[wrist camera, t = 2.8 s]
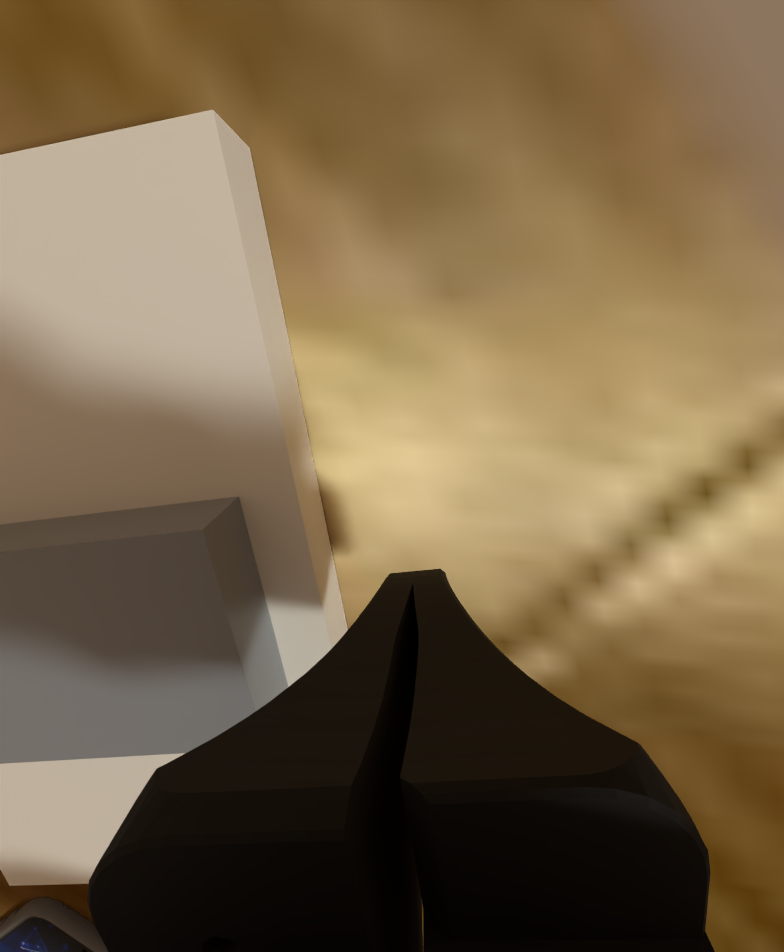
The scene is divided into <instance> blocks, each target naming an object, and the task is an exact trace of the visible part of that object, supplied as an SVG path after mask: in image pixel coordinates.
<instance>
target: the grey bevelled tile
mask: <svg viewBox="0 0 784 952" xmlns="http://www.w3.org/2000/svg"><path fill="white" fill-rule="evenodd" d="M286 688H288V683H287V679H286V676H285V672H284V668H283V664H282V660H281V656H280V653H279V649H278V645H277V641H276V637H275V633H274V629H273V626H272V622H271V618H270V614H269V610H268V606H267V603H266V599H265V595H264V591H263V587H262V583H261V580H260V576H259V572H258V568H257V564H256V560H255V556H254V553H253V549H252V545H251V541H250V537H249V533H248V530H247V526H246V522H245V518H244V514H243V510H242V506H241V503H240V499H239V496H238V497H229V498H221V499H212V500H204V501H195V502H187V503H178V504H170V505H162V506H153V507H145V508H136V509H128V510H119V511H111V512H102V513H94V514H85V515H77V516H69V517H60V518H52V519H43V520H35V521H26V522H18V523H9V524H1V525H0V764H5V763H22V762H40V761H57V760H75V759H92V758H110V757H127V756H144V755H162V754H179V753H187V752H189V751H191V750H193V749H194V748H196V747H198V746H200V745H202V744H204V743H205V742H207V741H209V740H211V739H213V738H214V737H216V736H218V735H219V734H221V733H223V732H224V731H226V730H228V729H229V728H231V727H232V726H234V725H236V724H237V723H239V722H240V721H242V720H243V719H245V718H247V717H248V716H250V715H251V714H252V713H254V712H255V711H257V710H258V709H260V708H261V707H263V706H264V705H266V704H267V703H268V702H270V701H271V700H272V699H274V698H275V697H276V696H278V695H279V694H280V693H281V692H283V691H284V690H285V689H286Z"/></svg>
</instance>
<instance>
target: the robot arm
mask: <svg viewBox="0 0 784 952" xmlns="http://www.w3.org/2000/svg"><path fill="white" fill-rule="evenodd" d="M709 881H710V865H709V856H708V850H707V848H706V846H705V844H704V842H703V841H702V839H701V836H700V834H699V832H698V830H697V828H696V826H695V824H694V822H693V820H692V818H691V817H690V815H689V813H688V812H687V810H686V808H685V807H684V805H683V804H682V802H681V800H680V799H679V797H678V796H677V794H676V793H675V792H674V790H673V789H672V787H671V786H670V784H669V783H668V782H667V780H666V779H665V777H664V776H663V774H662V773H661V772H660V770H659V769H658V768H657V766H656V765H655V764H654V762H653V761H652V760H651V758H650V757H649V755H648V754H647V753H646V752H645V750H644V749H643V748H642V746H641V745H640V744H639V743H637V742H635V741H633V740H631V739H630V738H628V737H626V736H624V735H622V734H620V733H618V732H616V731H614V730H612V729H611V728H609V727H607V726H605V725H603V724H601V723H599V722H597V721H595V720H593V719H592V718H590V717H588V716H586V715H584V714H583V713H581V712H579V711H578V710H576V709H575V708H573V707H571V706H570V705H568V704H567V703H565V702H563V701H562V700H560V699H559V698H557V697H556V696H554V695H553V694H552V693H550V692H549V691H547V690H546V689H545V688H543V687H542V686H541V685H539V684H538V683H537V682H535V681H534V680H533V679H531V678H530V677H529V676H527V675H526V674H525V673H524V672H523V671H522V670H521V669H519V668H518V667H517V666H516V665H515V664H514V663H512V662H511V661H510V660H509V659H508V658H507V657H506V656H505V655H504V654H503V653H502V652H501V651H500V650H499V649H498V648H497V647H496V646H495V645H494V644H493V643H492V642H491V641H490V640H489V639H488V638H487V636H486V635H485V634H484V633H483V632H482V631H481V629H480V628H479V627H478V626H477V625H476V623H475V622H474V621H473V620H472V618H471V617H470V616H469V614H468V613H467V612H466V610H465V609H464V607H463V606H462V605H461V603H460V602H459V600H458V599H457V597H456V595H455V594H454V592H453V590H452V588H451V586H450V585H449V582H448V580H447V577H446V574H445V572H444V571H442V570H441V569H433V570H422V571H412V572H401V573H391V574H389V576H388V577H387V578H386V579H385V581H384V582H383V584H382V585H381V587H380V588H379V590H378V591H377V593H376V594H375V595H374V597H373V598H372V600H371V601H370V603H369V604H368V605H367V607H366V608H365V609H364V611H363V612H362V613H361V614H360V616H359V617H358V618H357V620H356V621H355V622H354V624H353V625H352V626H351V627H350V628H349V629H348V631H347V632H346V633H345V634H344V635H343V636H342V638H341V639H340V640H339V641H338V642H337V643H336V644H335V646H334V647H333V648H332V649H331V650H330V651H329V652H328V653H327V654H326V655H325V656H324V657H323V658H322V659H321V660H319V661H318V662H317V663H316V664H315V665H314V666H313V667H312V668H311V669H310V670H309V671H308V672H306V673H305V674H304V675H303V676H302V677H300V678H299V679H298V680H297V681H295V682H294V683H293V684H292V685H290V686H289V687H288V688H286V689H285V690H284V691H283V692H281V693H280V694H279V695H278V696H276V697H275V698H274V699H272V700H271V701H270V702H268V703H267V704H266V705H264V706H263V707H261V708H260V709H258V710H257V711H255V712H254V713H252V714H251V715H250V716H248V717H247V718H245V719H243V720H242V721H240V722H239V723H237V724H236V725H234V726H232V727H231V728H229V729H228V730H226V731H224V732H223V733H221V734H219V735H218V736H216V737H214V738H213V739H211V740H209V741H207V742H205V743H204V744H202V745H200V746H198V747H196V748H194V749H193V750H191V751H189V752H187V753H185V754H183V755H182V756H180V757H178V758H176V759H174V760H172V761H171V762H169V763H167V764H165V765H163V766H161V767H159V768H157V769H156V770H155V772H154V773H153V775H152V776H151V778H150V779H149V781H148V782H147V784H146V785H145V787H144V788H143V790H142V791H141V793H140V795H139V796H138V798H137V799H136V801H135V803H134V804H133V806H132V808H131V809H130V811H129V813H128V814H127V816H126V818H125V819H124V821H123V823H122V824H121V826H120V828H119V829H118V831H117V833H116V834H115V836H114V837H113V839H112V841H111V842H110V844H109V846H108V847H107V849H106V851H105V852H104V854H103V856H102V857H101V859H100V861H99V862H98V864H97V866H96V868H95V870H94V872H93V874H92V876H91V878H90V880H89V888H88V904H89V908H90V911H91V914H92V917H93V921H94V924H95V927H96V929H97V931H98V933H99V935H100V936H101V938H102V940H103V942H104V944H105V946H106V948H107V950H108V952H423V935H422V903H423V908H424V952H715V951H714V949H713V947H712V945H711V943H710V941H709V939H708V937H707V934H706V932H705V925H706V914H707V903H708V892H709ZM421 897H422V899H421Z"/></svg>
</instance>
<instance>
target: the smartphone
mask: <svg viewBox="0 0 784 952" xmlns="http://www.w3.org/2000/svg"><path fill="white" fill-rule="evenodd" d="M0 952H108V950H107V948H106V946H105V944H104V942H103V940H102V938H101V936H100V935H99V933H98V931H97V929H96V927H95V925H94V924H93V923H91V922H90V921H88V920H87V919H85V918H84V917H82V916H81V915H79V914H78V913H76V912H75V911H73V910H72V909H70V908H69V907H67V906H66V905H64V904H63V903H61V902H59V901H57V900H54V899H51V898H44V897H40V898H35V899H32V900H30V901H29V902H28V903H26V904H25V905H24V906H22V907H21V908H20V909H16V910H15V911H14V912H12V913H11V914H10V916H9V917H8V918H4V919H3V920H2V921H0Z"/></svg>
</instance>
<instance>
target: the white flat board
mask: <svg viewBox="0 0 784 952" xmlns="http://www.w3.org/2000/svg"><path fill="white" fill-rule="evenodd" d="M238 496H239V499H240V503H241V506H242V510H243V514H244V518H245V522H246V526H247V530H248V533H249V537H250V541H251V545H252V549H253V553H254V556H255V560H256V564H257V568H258V572H259V576H260V580H261V583H262V587H263V591H264V595H265V599H266V603H267V606H268V610H269V614H270V618H271V622H272V626H273V629H274V633H275V637H276V641H277V645H278V649H279V653H280V656H281V660H282V664H283V668H284V672H285V676H286V679H287V683H288V687H289V686H290V685H292V684H293V683H294V682H295V681H297V680H298V679H299V678H300V677H302V676H303V675H304V674H305V673H306V672H308V671H309V670H310V669H311V668H312V667H313V666H314V665H315V664H316V663H317V662H318V661H319V660H321V659H322V658H323V657H324V656H325V655H326V654H327V653H328V652H329V651H330V650H331V649H332V648H333V647H334V646H335V644H336V643H337V642H338V641H339V640H340V639H341V638H342V636H343V635H344V634H345V633H346V632H347V631H348V629H347V624H346V619H345V614H344V609H343V604H342V599H341V594H340V590H339V585H338V580H337V575H336V570H335V565H334V560H333V555H332V550H331V545H330V540H329V536H328V531H327V526H326V521H325V516H324V511H323V506H322V501H321V496H320V491H319V486H318V482H317V477H316V472H315V467H314V462H313V457H312V452H311V447H310V442H309V437H308V432H307V427H306V423H305V418H304V413H303V408H302V403H301V398H300V393H299V388H298V383H297V378H296V373H295V369H294V364H293V359H292V354H291V349H290V344H289V339H288V334H287V329H286V324H285V319H284V315H283V310H282V305H281V300H280V295H279V290H278V285H277V280H276V275H275V270H274V265H273V261H272V256H271V251H270V246H269V241H268V236H267V231H266V226H265V221H264V216H263V211H262V207H261V202H260V197H259V192H258V187H257V182H256V177H255V172H254V167H253V162H252V157H251V153H250V148H249V147H248V146H247V145H246V144H245V143H244V142H243V140H242V139H241V138H240V137H239V136H238V135H237V134H236V133H235V132H234V131H233V130H232V129H231V128H230V127H229V126H228V125H227V124H226V123H225V122H224V121H223V120H222V119H221V118H220V117H219V115H218V114H217V113H216V112H215V111H214V110H209V111H204V112H200V113H195V114H190V115H186V116H181V117H176V118H172V119H167V120H162V121H157V122H153V123H148V124H143V125H139V126H134V127H129V128H125V129H120V130H115V131H110V132H106V133H101V134H96V135H92V136H87V137H82V138H78V139H73V140H68V141H64V142H59V143H54V144H49V145H45V146H40V147H35V148H31V149H26V150H21V151H17V152H12V153H7V154H2V155H0V525H1V524H9V523H18V522H26V521H35V520H43V519H52V518H60V517H69V516H77V515H85V514H94V513H102V512H111V511H119V510H128V509H136V508H145V507H153V506H162V505H170V504H178V503H187V502H195V501H204V500H212V499H221V498H229V497H238ZM183 754H185V753H179V754H162V755H144V756H127V757H110V758H92V759H75V760H57V761H40V762H22V763H5V764H0V870H1V872H2V873H3V875H4V877H5V879H6V880H7V882H8V884H9V886H19V885H57V884H89V880H90V878H91V876H92V874H93V872H94V870H95V868H96V866H97V864H98V862H99V861H100V859H101V857H102V856H103V854H104V852H105V851H106V849H107V847H108V846H109V844H110V842H111V841H112V839H113V837H114V836H115V834H116V833H117V831H118V829H119V828H120V826H121V824H122V823H123V821H124V819H125V818H126V816H127V814H128V813H129V811H130V809H131V808H132V806H133V804H134V803H135V801H136V799H137V798H138V796H139V795H140V793H141V791H142V790H143V788H144V787H145V785H146V784H147V782H148V781H149V779H150V778H151V776H152V775H153V773H154V772H155V770H156V769H157V768H159V767H161V766H163V765H165V764H167V763H169V762H171V761H172V760H174V759H176V758H178V757H180V756H182V755H183Z"/></svg>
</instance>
